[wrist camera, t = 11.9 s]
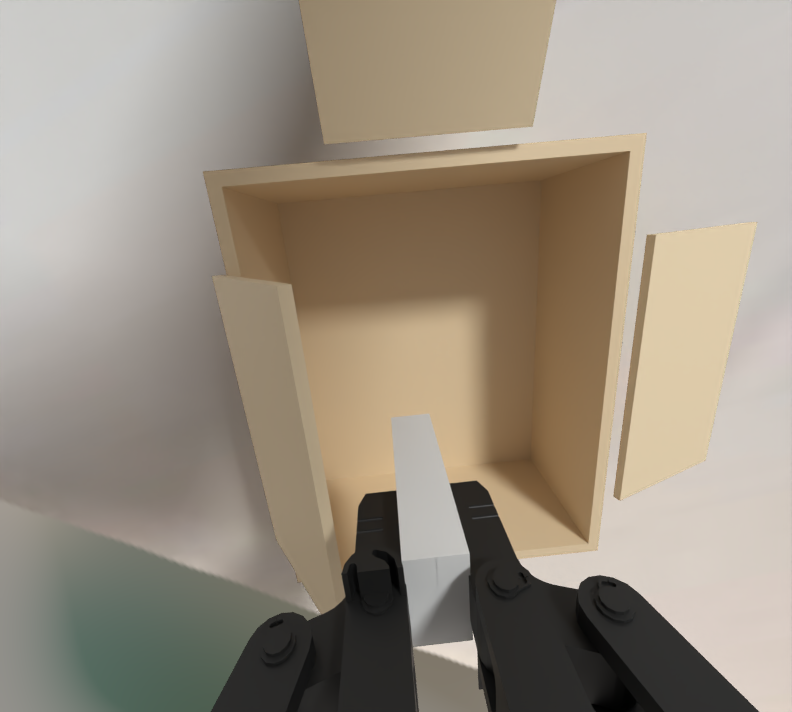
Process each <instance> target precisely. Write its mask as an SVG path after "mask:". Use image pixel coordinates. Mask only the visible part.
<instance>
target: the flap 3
mask: <svg viewBox="0 0 792 712" xmlns="http://www.w3.org/2000/svg"><path fill="white" fill-rule="evenodd" d="M756 226H757V222H747V223H739V224H731V225H723V226H715V227H707V228H699V229H691V230H683V231H675V232H667V233H659V234H651V235H647V238H646V246H645V254H644V262H643V269H642V277H641V285H640V293H639V301H638V308H637V316H636V324H635V332H634V340H633V347H632V355H631V363H630V371H629V379H628V386H627V394H626V402H625V410H624V418H623V425H622V433H621V441H620V449H619V457H618V464H617V472H616V480H615V488H614V497H615V498H617V499H618V500H620V501H621V500H623V499H625V498H627V497H629V496H631V495H633V494H635V493H638V492H640V491H642V490H644V489H646V488H648V487H650V486H652V485H654V484H657V483H659V482H661V481H663V480H665V479H667V478H669V477H671V476H674V475H676V474H678V473H680V472H682V471H684V470H686V469H688V468H690V467H693V466H695V465H697V464H699V463H701V462H703V461H705V460H706V455H707V450H708V446H709V441H710V437H711V432H712V428H713V423H714V418H715V414H716V409H717V405H718V400H719V395H720V391H721V386H722V382H723V377H724V373H725V368H726V363H727V359H728V354H729V350H730V345H731V340H732V336H733V331H734V327H735V322H736V318H737V313H738V308H739V304H740V299H741V295H742V290H743V285H744V281H745V276H746V272H747V267H748V263H749V258H750V253H751V249H752V244H753V240H754V235H755V231H756Z"/></svg>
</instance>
